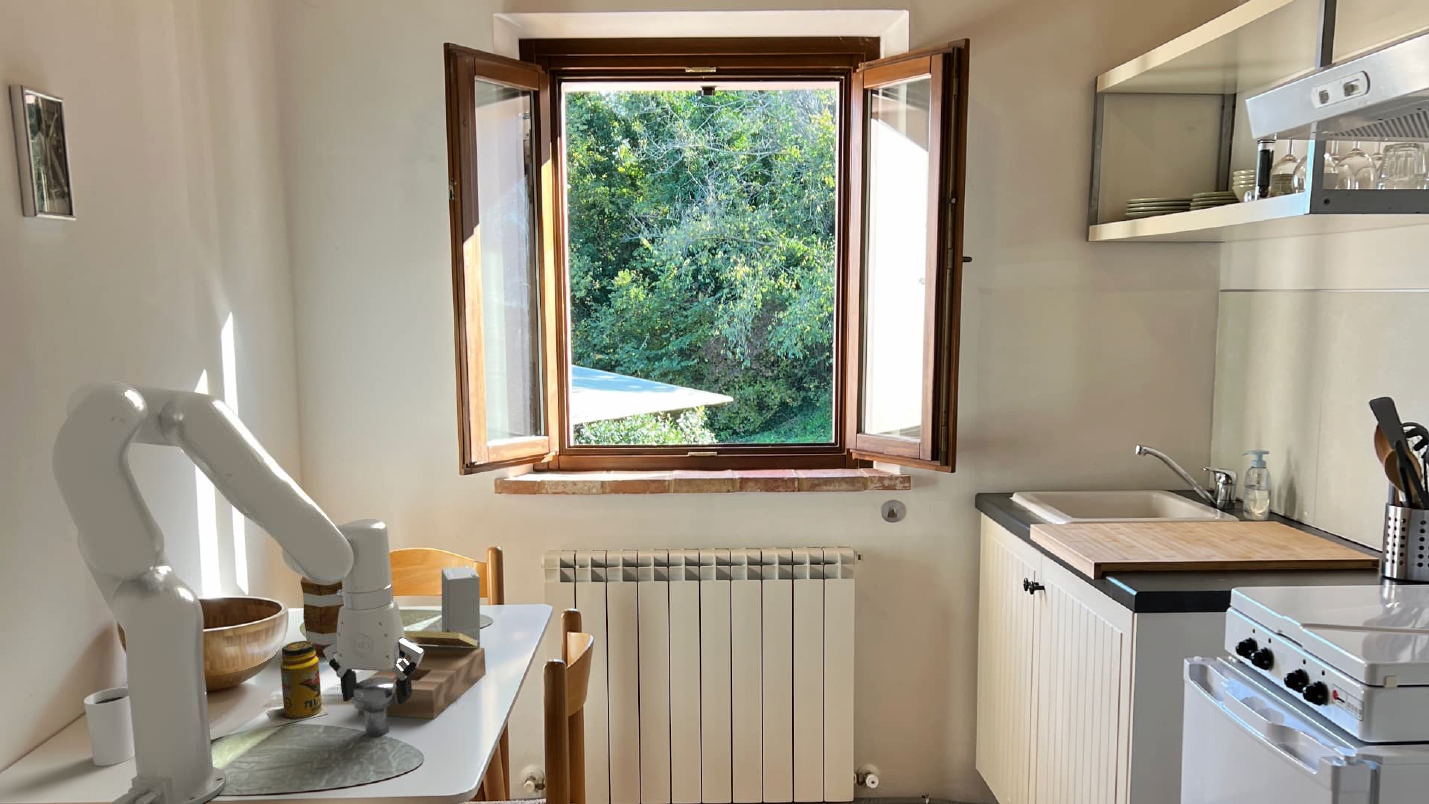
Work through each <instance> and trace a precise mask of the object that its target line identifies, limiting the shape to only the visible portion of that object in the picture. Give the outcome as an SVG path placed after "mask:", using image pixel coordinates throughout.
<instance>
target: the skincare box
mask: <svg viewBox="0 0 1429 804" xmlns="http://www.w3.org/2000/svg"><path fill="white" fill-rule="evenodd" d="M440 570H441V632H449V633H461V634H463V635H465V636H468V637H470V638H472V639H474V640H477V641H480V642H481V636H480V635H481V633H480V632H481V626H480V625H481V617H480V615H481V613H480V612H481V609H480V608H481V607H480V606H481V603H480V602H481V597H480V596H481V594H480V593H481V586H480V584H481V579H480V578H481V577H480V576H479V574H478V573H477V572H478V570H476V569H475V568H474V567H473V566H472V565H466V566H459V567H458V566H457V567H456V566H455V567H445V568H441V569H440ZM450 647H462V646H450ZM473 648H481V645H480V646H479V647H473Z"/></svg>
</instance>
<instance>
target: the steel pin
mask: <svg viewBox="0 0 1429 804" xmlns="http://www.w3.org/2000/svg"><path fill="white" fill-rule="evenodd" d="M353 695H354V697H353V706H354V707H353V708H355V709H356V710H358V711H359V710H362V711H364V715H363V716H364V717H363V718H364V729H365V730H364V731H365V736H366V737H369V738H377V737H381V736H384V735H387V734H388V733H389V731H390V726H389V716H388V710H387V707H388V706H390V705H392V704H393V703H394V702H395V701H396V694H395V681H394V680H393V679H391V678H387V677H377V678H370V679H368V678H366V679H363V680H361V681H359V682H357V684H355V685H354V686H353Z"/></svg>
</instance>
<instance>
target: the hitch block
mask: <svg viewBox="0 0 1429 804" xmlns="http://www.w3.org/2000/svg"><path fill="white" fill-rule="evenodd" d="M414 645H415V646H417V647H419V648H421V649H422V650H423V651H424V655H423V657H422V659H421V661H420V665H419V666H418V667H417V668H416V670H415V671H414V672H413V673H412V674H411V684H412V694H411V697H410V698H409V699H408V700H406V701H405V702H404V703H403V704H399V703H398V702H397V691H396V680H398V679H399V678H398V676H397V675H396V674H395V673H394V672H393V671H392V669H390V670H386V671H376V672H375V673H373V674H372V675H370V676H369V677H368V678H367V679H370V678H377V677H387V678H391V679H393V680H394V681H395V694H396V701H395V702H394V703H393V704H392V705H390V706H388V707H387V710H388V717H395V718H396V717H397V718H398V717H399V718H413V719H414V718H415V719H431V720H434V719H436V718H438V716H439V715H441V714H443V712H444V711H445V710H447V709H448V708H449V707H450V706H451V705H452V704H453V703H454V702H456V700H458V699H459V698H460V697H461V696H462V695H463V694H465V693H466V692H467V691H468V690H469V689H470V688H472V687H473V686H474V685H475V684H476V683H477V682H479V681H480V679H482V678H483V677H484V676H485V675H486V674H487V671H486V654H485V651H486V650H485V647H480V648H473V647H450V646H439V645H419V644H414ZM405 659H406V660H407V662H408V663H409V664H410V662H411V656H410V655H409V654H407V653H406V658H405ZM399 666H400V665H399ZM400 667H401V666H400ZM358 714H359V715H361V716H364V711H362V710H358Z"/></svg>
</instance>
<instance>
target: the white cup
mask: <svg viewBox="0 0 1429 804" xmlns="http://www.w3.org/2000/svg"><path fill="white" fill-rule="evenodd" d="M83 701H84V709H85V715H86V721H87V728H88V734H89V740H90V741H89V742H90V748H91V754H92V761H93V765H96V766H97V767H98V766H100V767H102V766H103V767H107V766H114V765H117V764H121V763H124V762H126V761H128V760H130V759H132V758H133V757H134V758H135V751H134V740H133V730H132V720H131V709H130V699H129V693H128V687H122V686H121V687H112V688H107V689H103V690H100V691H97V692H94V693H92V694H89V695H88V696H87V697H85V698H84V699H83Z"/></svg>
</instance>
